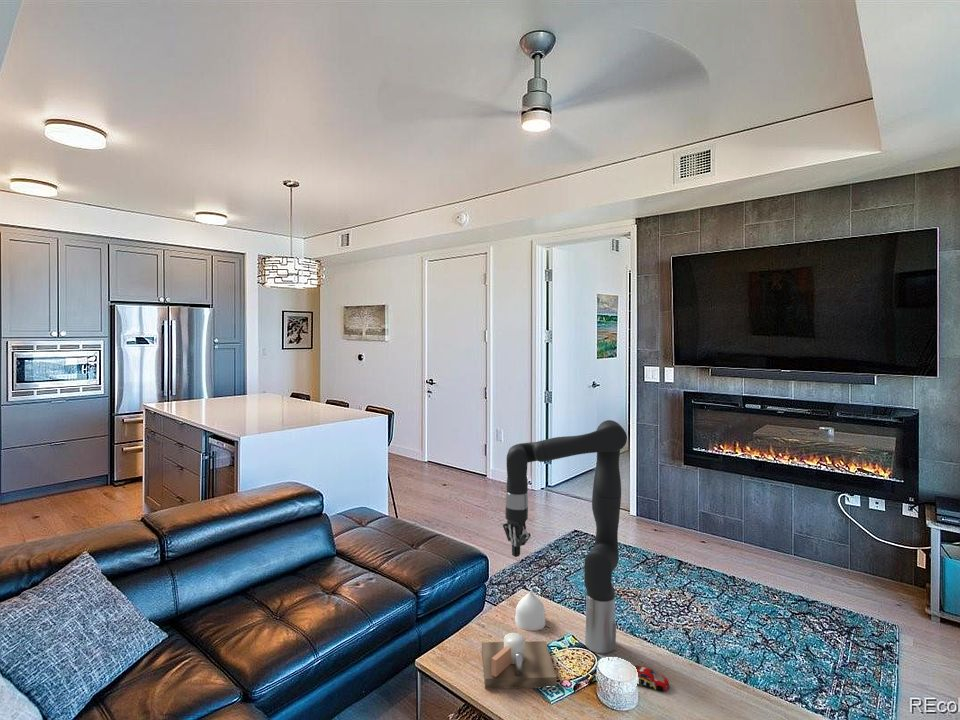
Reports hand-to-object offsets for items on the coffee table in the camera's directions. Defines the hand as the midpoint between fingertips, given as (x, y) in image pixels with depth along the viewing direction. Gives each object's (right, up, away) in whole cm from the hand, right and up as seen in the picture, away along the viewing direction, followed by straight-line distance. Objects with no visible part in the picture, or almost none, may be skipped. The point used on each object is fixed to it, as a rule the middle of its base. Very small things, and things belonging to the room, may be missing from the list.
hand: (515, 555), depth 172 cm
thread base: (-1, -30, -14) cm, 33 cm away
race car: (+37, -31, -20) cm, 52 cm away
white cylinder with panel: (-4, -26, -17) cm, 32 cm away
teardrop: (+6, -29, +12) cm, 32 cm away
